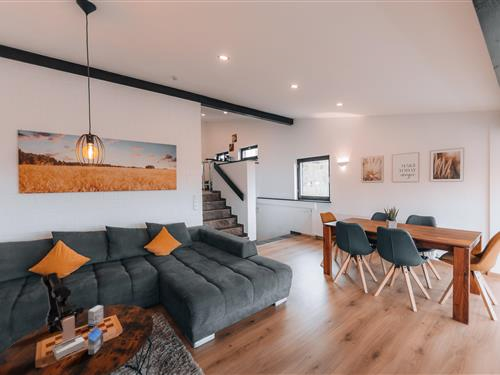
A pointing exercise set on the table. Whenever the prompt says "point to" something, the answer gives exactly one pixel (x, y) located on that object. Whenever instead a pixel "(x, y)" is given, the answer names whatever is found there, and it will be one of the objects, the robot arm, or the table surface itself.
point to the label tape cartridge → (95, 341)
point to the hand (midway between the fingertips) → (69, 328)
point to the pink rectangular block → (68, 329)
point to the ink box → (95, 315)
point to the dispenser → (68, 347)
